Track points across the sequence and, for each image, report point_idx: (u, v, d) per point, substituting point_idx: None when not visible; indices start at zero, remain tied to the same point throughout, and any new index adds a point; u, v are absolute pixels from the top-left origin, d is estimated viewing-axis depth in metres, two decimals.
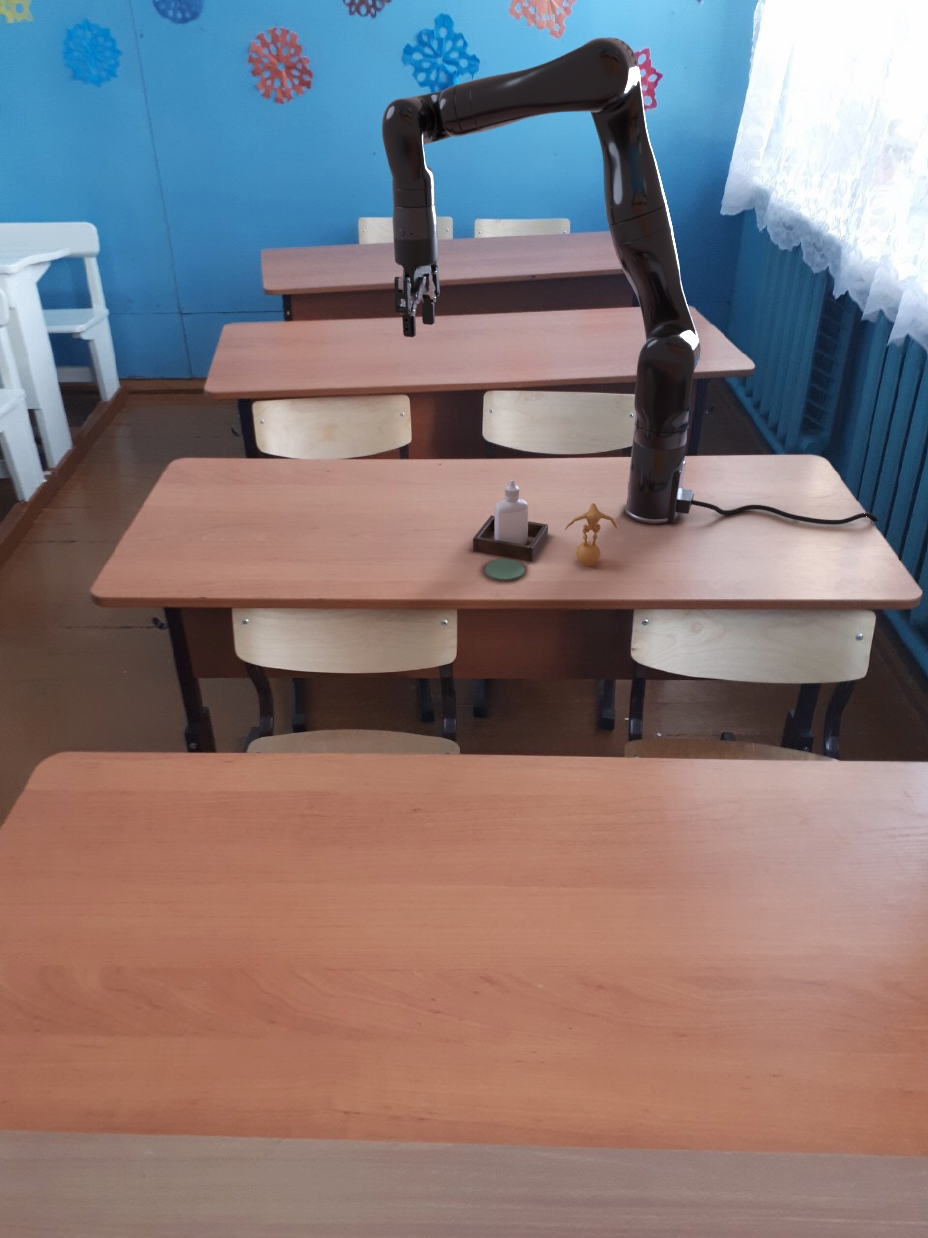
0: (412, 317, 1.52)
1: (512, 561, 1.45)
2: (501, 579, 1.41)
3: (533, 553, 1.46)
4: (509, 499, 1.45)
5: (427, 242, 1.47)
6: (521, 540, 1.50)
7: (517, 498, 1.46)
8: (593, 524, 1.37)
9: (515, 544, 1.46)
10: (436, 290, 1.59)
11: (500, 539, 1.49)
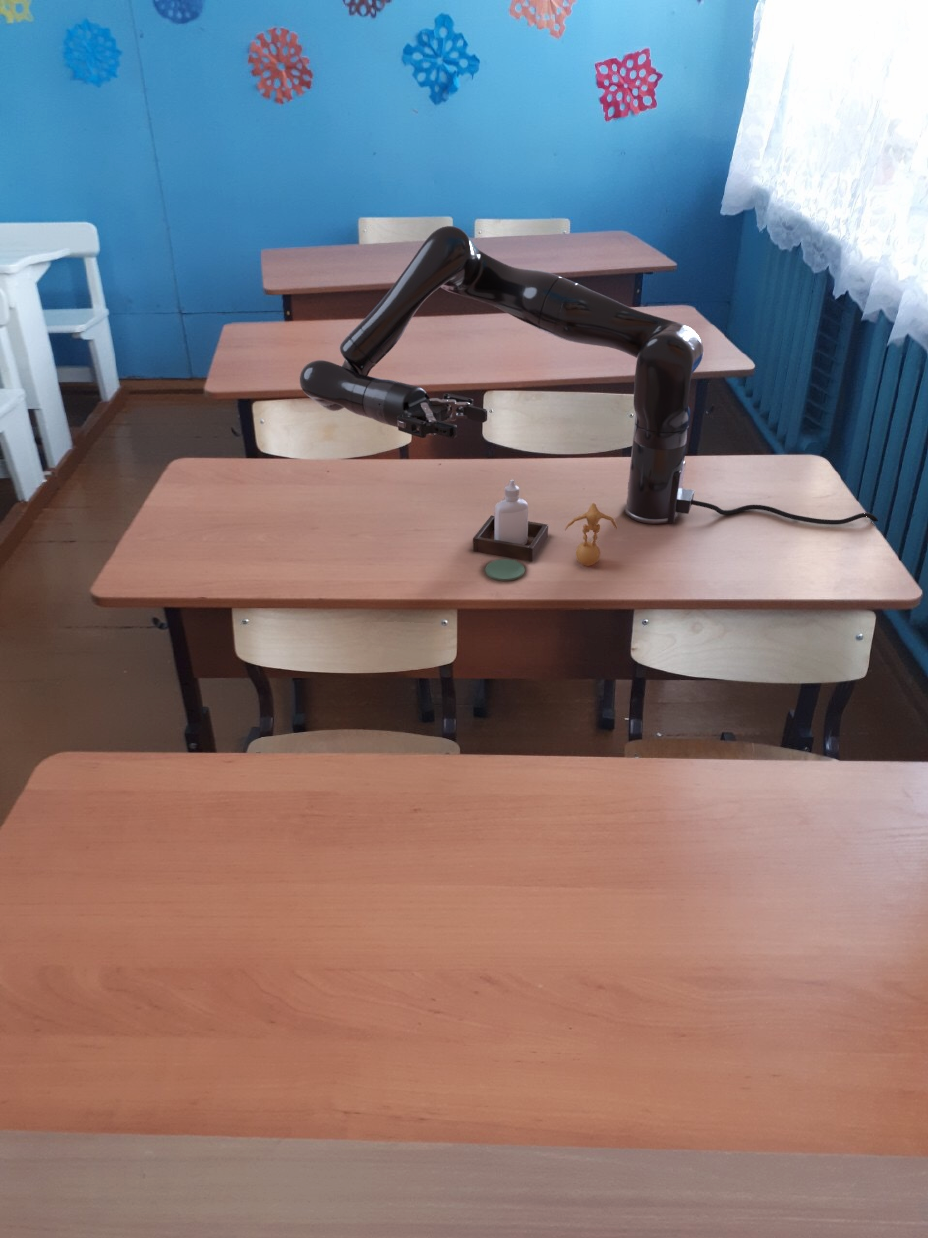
0: (437, 422, 1.42)
1: (512, 561, 1.45)
2: (501, 579, 1.41)
3: (533, 553, 1.46)
4: (509, 499, 1.45)
5: (391, 390, 1.48)
6: (521, 540, 1.50)
7: (517, 498, 1.46)
8: (593, 524, 1.37)
9: (515, 544, 1.46)
10: (464, 400, 1.50)
11: (500, 539, 1.49)
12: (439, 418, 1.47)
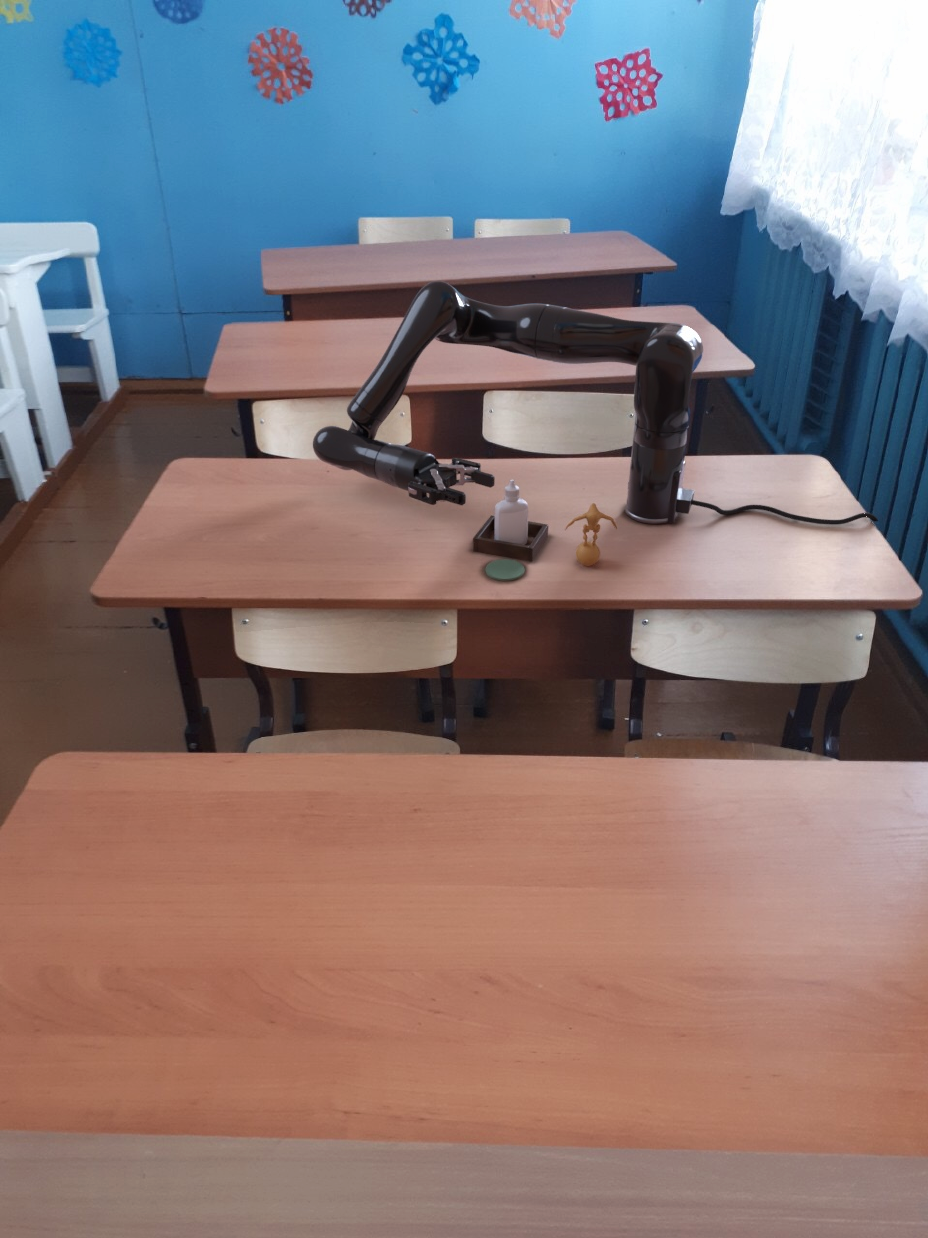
0: (446, 490, 1.48)
1: (512, 561, 1.45)
2: (501, 579, 1.41)
3: (533, 553, 1.46)
4: (509, 499, 1.45)
5: (401, 457, 1.54)
6: (521, 540, 1.50)
7: (517, 498, 1.46)
8: (593, 524, 1.37)
9: (515, 544, 1.46)
10: (472, 465, 1.56)
11: (500, 539, 1.49)
12: (448, 484, 1.53)
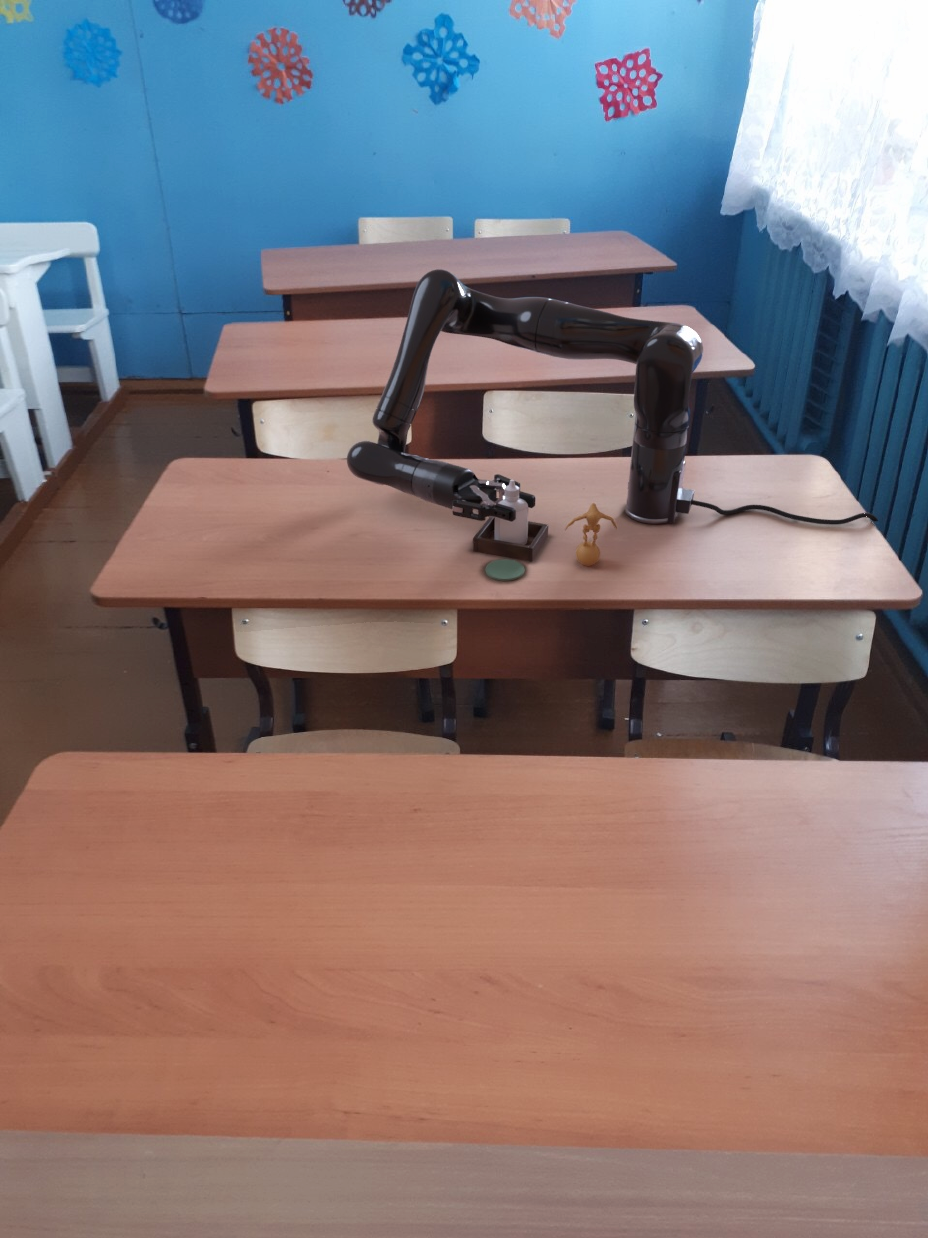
0: (496, 506, 1.45)
1: (512, 561, 1.45)
2: (501, 579, 1.41)
3: (533, 553, 1.46)
4: (509, 499, 1.45)
5: (440, 473, 1.51)
6: (521, 540, 1.50)
7: (517, 498, 1.46)
8: (593, 524, 1.37)
9: (515, 544, 1.46)
10: None
11: (500, 539, 1.49)
12: None
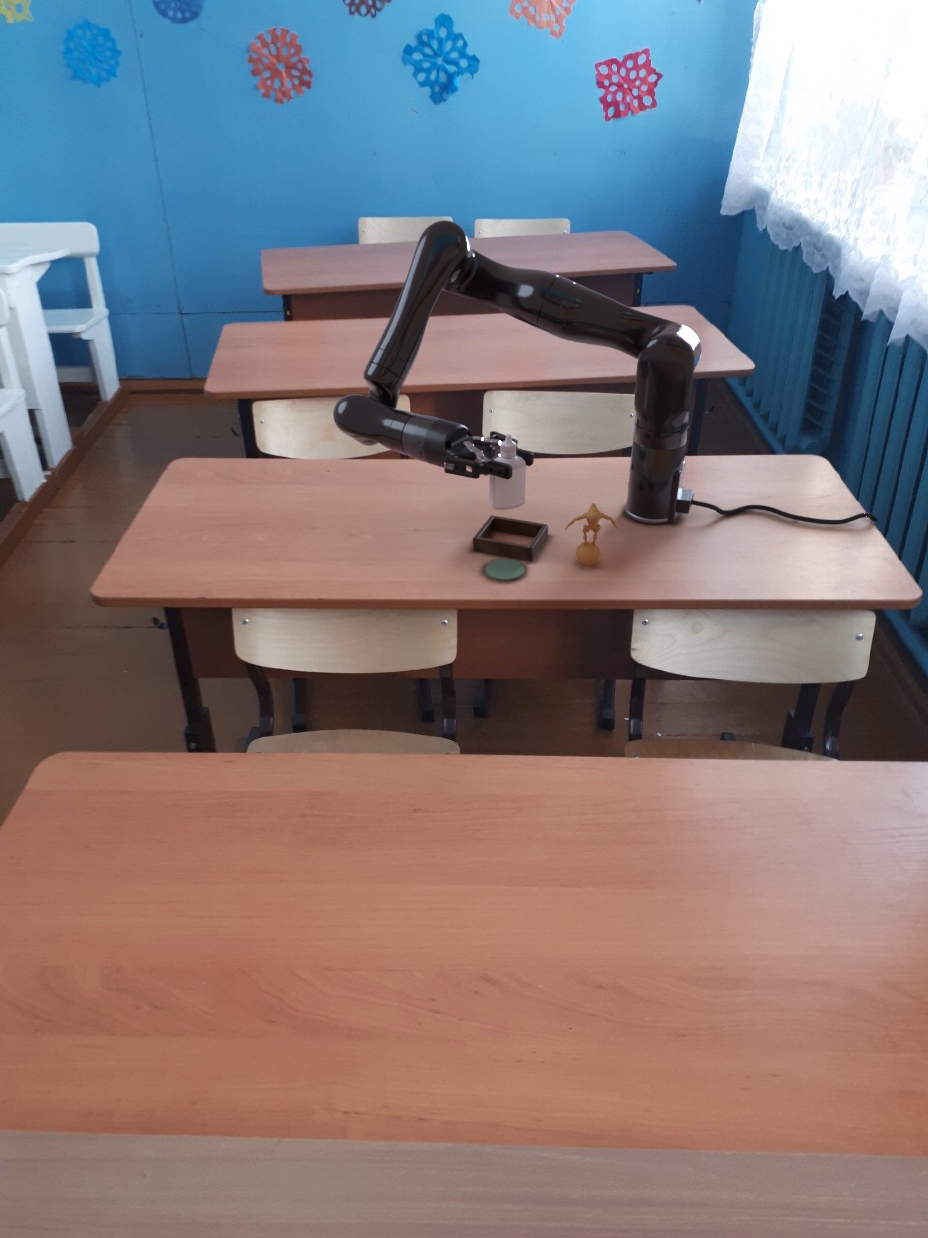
0: (491, 463, 1.34)
1: (512, 561, 1.45)
2: (501, 579, 1.41)
3: (533, 553, 1.46)
4: (505, 456, 1.35)
5: (432, 428, 1.40)
6: (518, 501, 1.39)
7: (514, 454, 1.35)
8: (593, 524, 1.37)
9: (515, 544, 1.46)
10: None
11: (495, 499, 1.38)
12: None
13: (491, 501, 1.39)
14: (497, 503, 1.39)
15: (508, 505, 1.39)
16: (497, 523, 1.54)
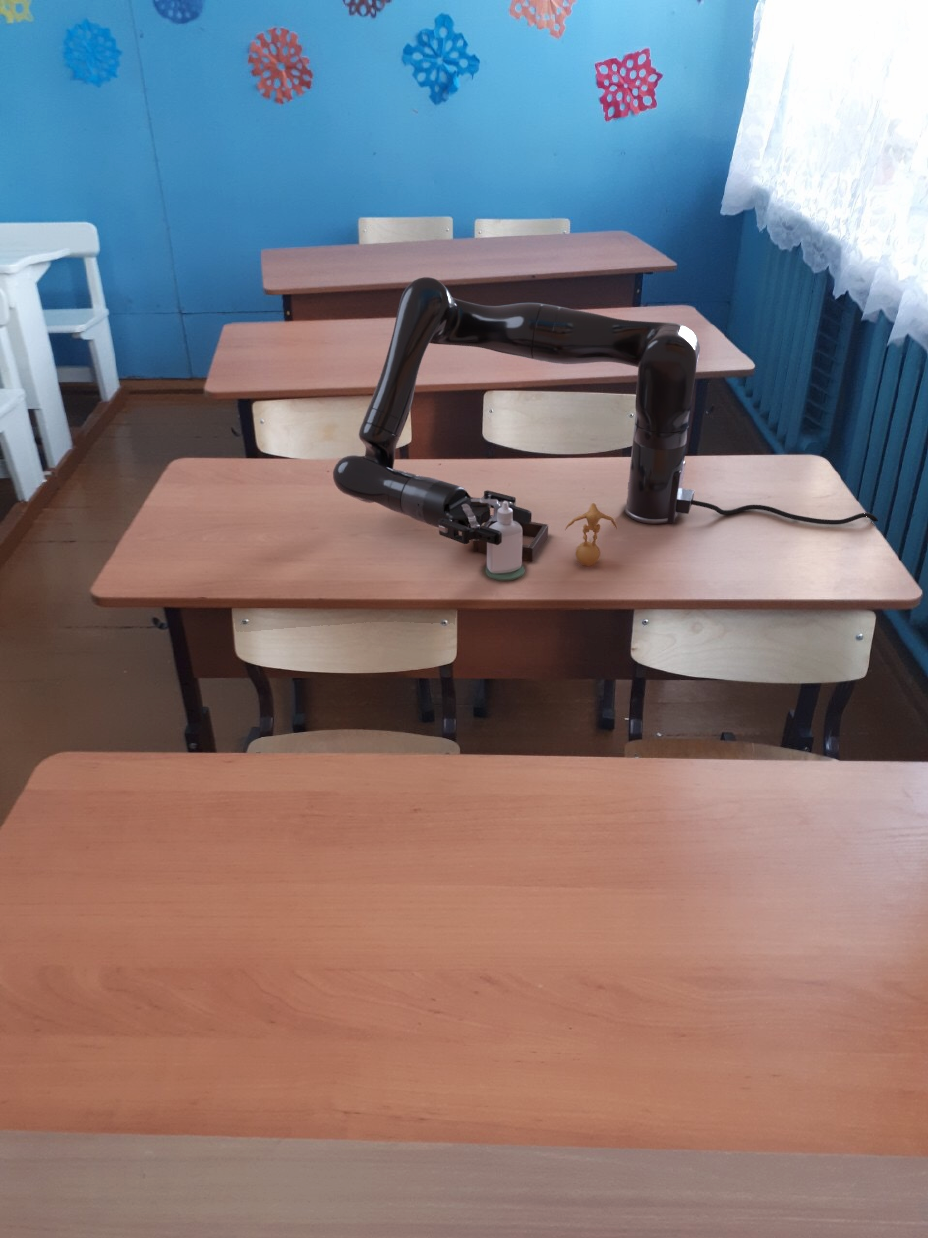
0: (481, 528, 1.36)
1: None
2: (501, 579, 1.41)
3: (533, 553, 1.46)
4: (502, 522, 1.38)
5: (430, 491, 1.42)
6: (515, 565, 1.42)
7: (510, 521, 1.38)
8: (593, 524, 1.37)
9: None
10: (506, 499, 1.44)
11: (493, 564, 1.41)
12: (481, 520, 1.41)
13: (488, 565, 1.42)
14: (495, 567, 1.41)
15: (505, 569, 1.42)
16: None
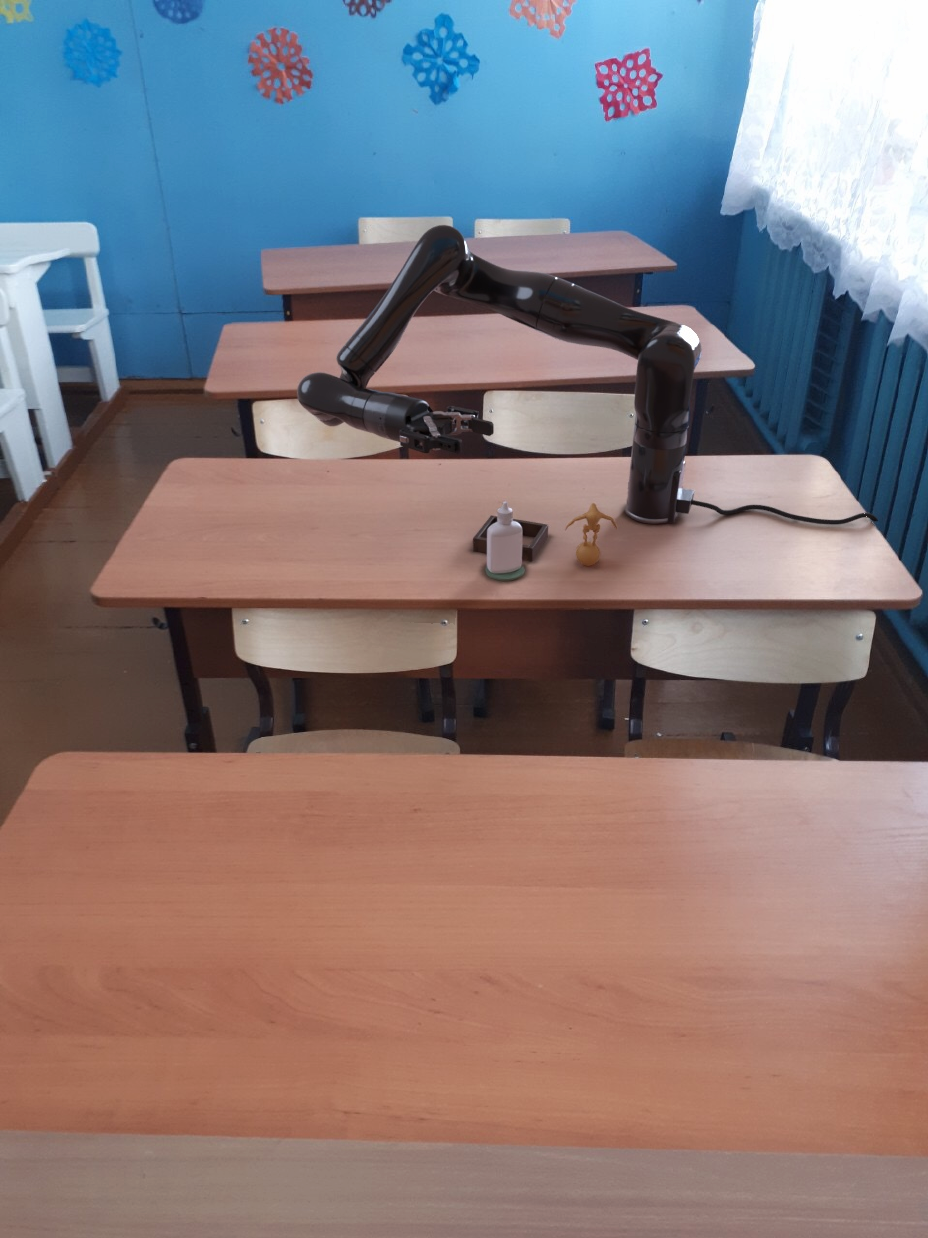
0: (441, 437, 1.35)
1: None
2: (501, 579, 1.41)
3: (533, 553, 1.46)
4: (502, 522, 1.38)
5: (392, 404, 1.42)
6: (515, 565, 1.42)
7: (510, 521, 1.38)
8: (593, 524, 1.37)
9: None
10: (469, 412, 1.43)
11: (493, 564, 1.41)
12: (443, 432, 1.40)
13: (488, 565, 1.42)
14: (495, 567, 1.41)
15: (505, 569, 1.42)
16: None
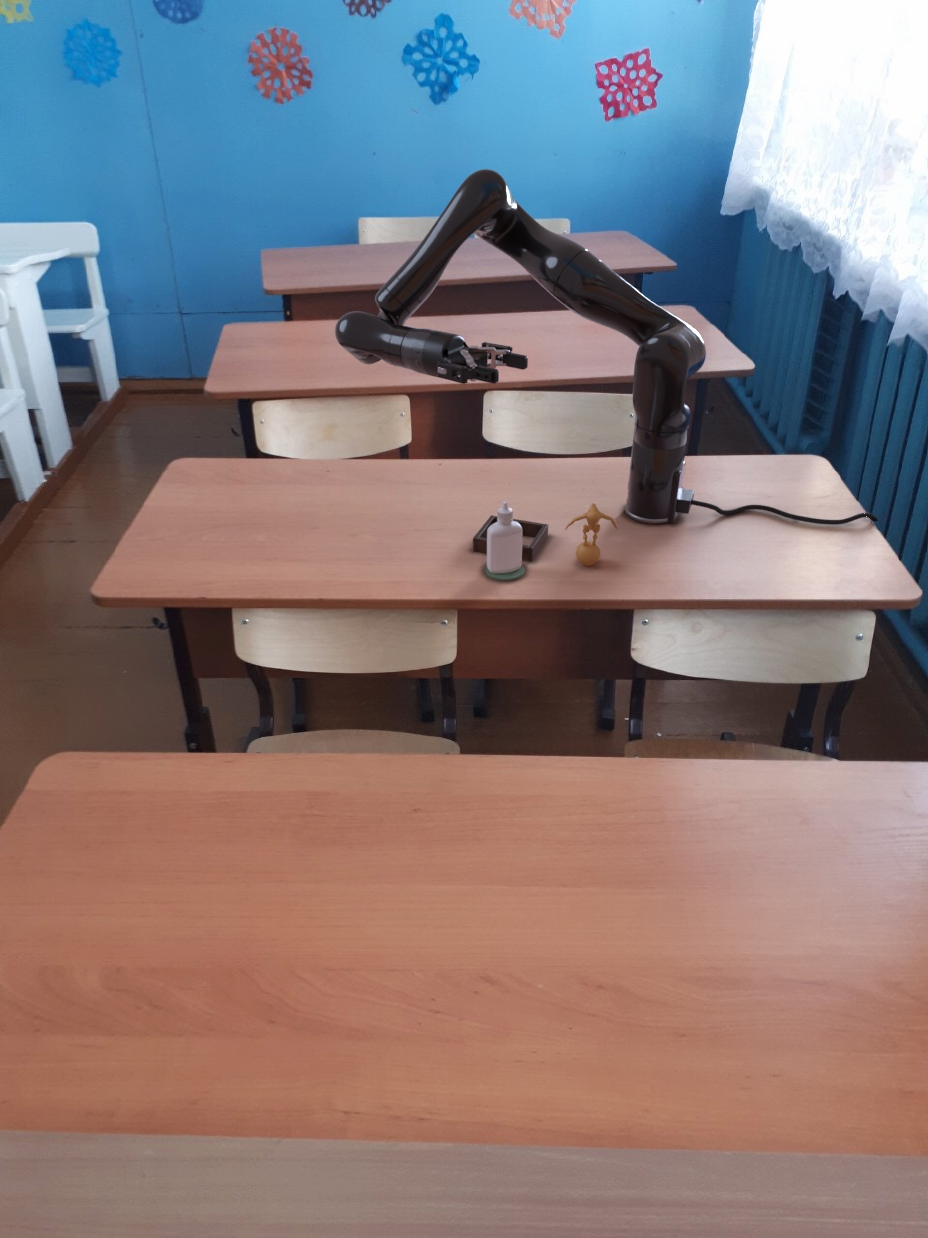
0: (478, 368, 1.40)
1: None
2: (501, 579, 1.41)
3: (533, 553, 1.46)
4: (502, 522, 1.38)
5: (429, 338, 1.47)
6: (515, 565, 1.42)
7: (510, 521, 1.38)
8: (593, 524, 1.37)
9: None
10: (503, 348, 1.48)
11: (493, 564, 1.41)
12: (479, 365, 1.45)
13: (488, 565, 1.42)
14: (495, 567, 1.41)
15: (505, 569, 1.42)
16: None
